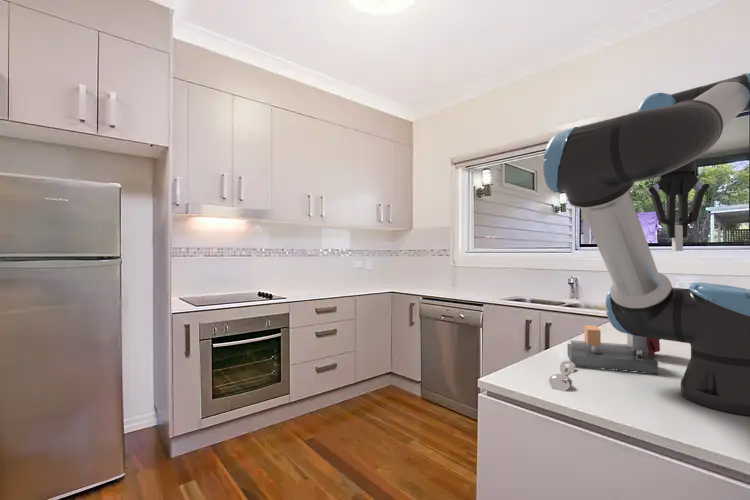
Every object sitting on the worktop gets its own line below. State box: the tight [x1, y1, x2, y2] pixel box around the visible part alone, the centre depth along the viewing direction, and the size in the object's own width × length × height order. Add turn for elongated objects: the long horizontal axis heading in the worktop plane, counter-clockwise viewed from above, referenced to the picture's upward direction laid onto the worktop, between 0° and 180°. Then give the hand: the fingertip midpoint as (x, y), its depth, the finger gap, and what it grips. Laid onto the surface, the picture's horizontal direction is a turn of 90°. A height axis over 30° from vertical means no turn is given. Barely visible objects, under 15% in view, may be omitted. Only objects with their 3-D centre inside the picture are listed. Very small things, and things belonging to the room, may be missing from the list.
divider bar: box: [570, 333, 648, 357], centre depth 105 cm, size 6×18×6 cm, turn 68°
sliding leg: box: [584, 324, 602, 352], centre depth 106 cm, size 7×3×6 cm, turn 158°
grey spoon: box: [548, 360, 576, 392], centre depth 93 cm, size 20×4×5 cm
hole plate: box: [567, 343, 659, 375], centre depth 105 cm, size 13×19×3 cm
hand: (677, 250), depth 99 cm, fingers closed
